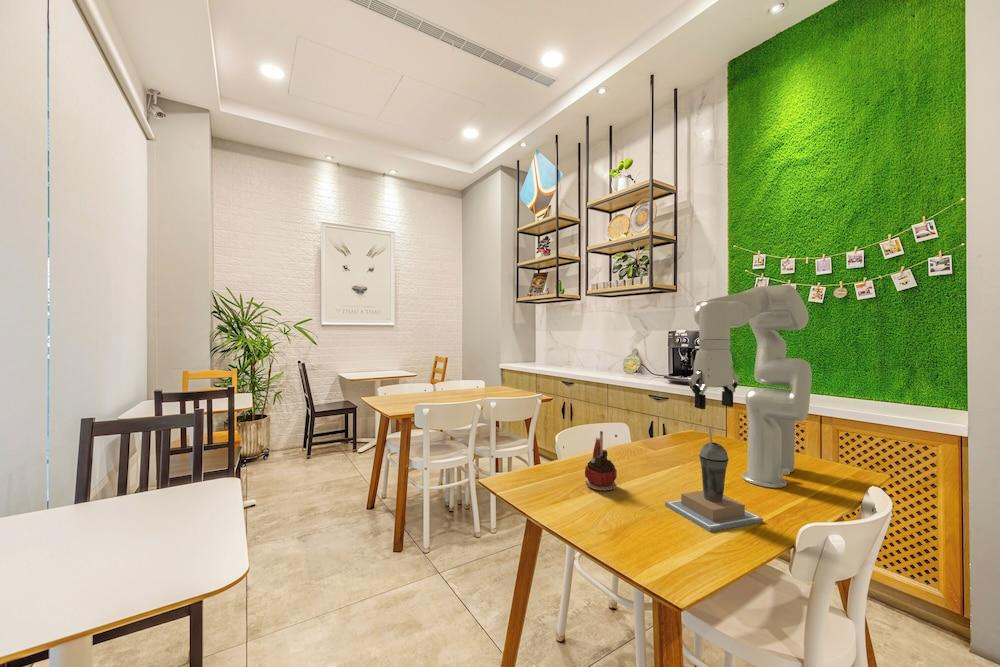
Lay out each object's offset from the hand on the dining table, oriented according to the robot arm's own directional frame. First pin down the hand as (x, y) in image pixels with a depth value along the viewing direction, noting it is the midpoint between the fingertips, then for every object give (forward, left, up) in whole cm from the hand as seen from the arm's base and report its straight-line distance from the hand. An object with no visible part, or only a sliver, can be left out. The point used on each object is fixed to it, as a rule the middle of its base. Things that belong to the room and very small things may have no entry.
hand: (713, 407), depth 112 cm
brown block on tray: (0, 0, -30) cm, 30 cm away
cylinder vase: (-53, -23, -30) cm, 65 cm away
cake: (+19, -26, -30) cm, 44 cm away
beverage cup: (0, 0, -26) cm, 26 cm away
